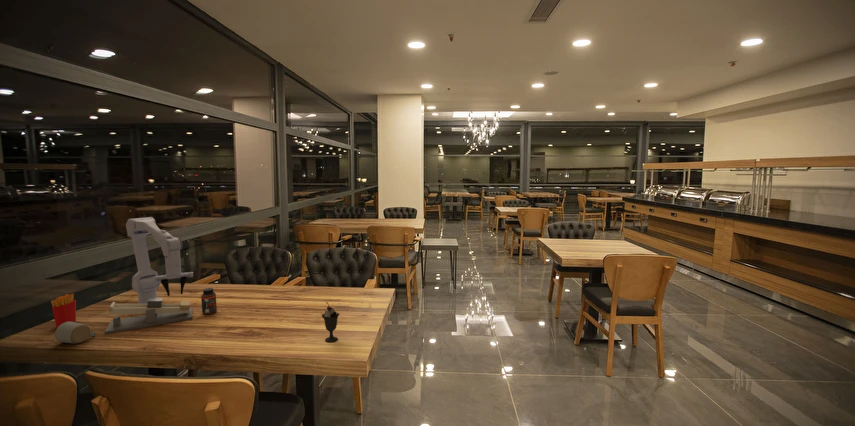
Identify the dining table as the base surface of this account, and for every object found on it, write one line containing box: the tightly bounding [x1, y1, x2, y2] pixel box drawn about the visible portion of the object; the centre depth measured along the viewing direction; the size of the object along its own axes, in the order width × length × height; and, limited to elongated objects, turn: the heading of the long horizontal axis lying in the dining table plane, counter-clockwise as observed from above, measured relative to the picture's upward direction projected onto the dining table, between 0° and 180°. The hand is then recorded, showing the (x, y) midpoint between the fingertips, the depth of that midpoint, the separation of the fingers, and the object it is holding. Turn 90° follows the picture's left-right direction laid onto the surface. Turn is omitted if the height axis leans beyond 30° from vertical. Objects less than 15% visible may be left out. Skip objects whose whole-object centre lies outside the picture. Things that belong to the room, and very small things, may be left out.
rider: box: [147, 297, 164, 308], centre depth 164 cm, size 4×5×4 cm
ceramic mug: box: [54, 322, 96, 345], centre depth 145 cm, size 11×8×8 cm
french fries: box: [50, 293, 77, 329], centre depth 159 cm, size 9×4×13 cm, turn 2°
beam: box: [108, 300, 191, 315], centre depth 164 cm, size 7×28×4 cm, turn 122°
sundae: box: [321, 301, 340, 343], centre depth 144 cm, size 7×7×15 cm
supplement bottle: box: [200, 287, 218, 315], centre depth 173 cm, size 6×6×11 cm
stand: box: [104, 307, 193, 335], centre depth 164 cm, size 14×30×6 cm, turn 122°
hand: (175, 294), depth 168 cm, fingers open, 4 cm apart
